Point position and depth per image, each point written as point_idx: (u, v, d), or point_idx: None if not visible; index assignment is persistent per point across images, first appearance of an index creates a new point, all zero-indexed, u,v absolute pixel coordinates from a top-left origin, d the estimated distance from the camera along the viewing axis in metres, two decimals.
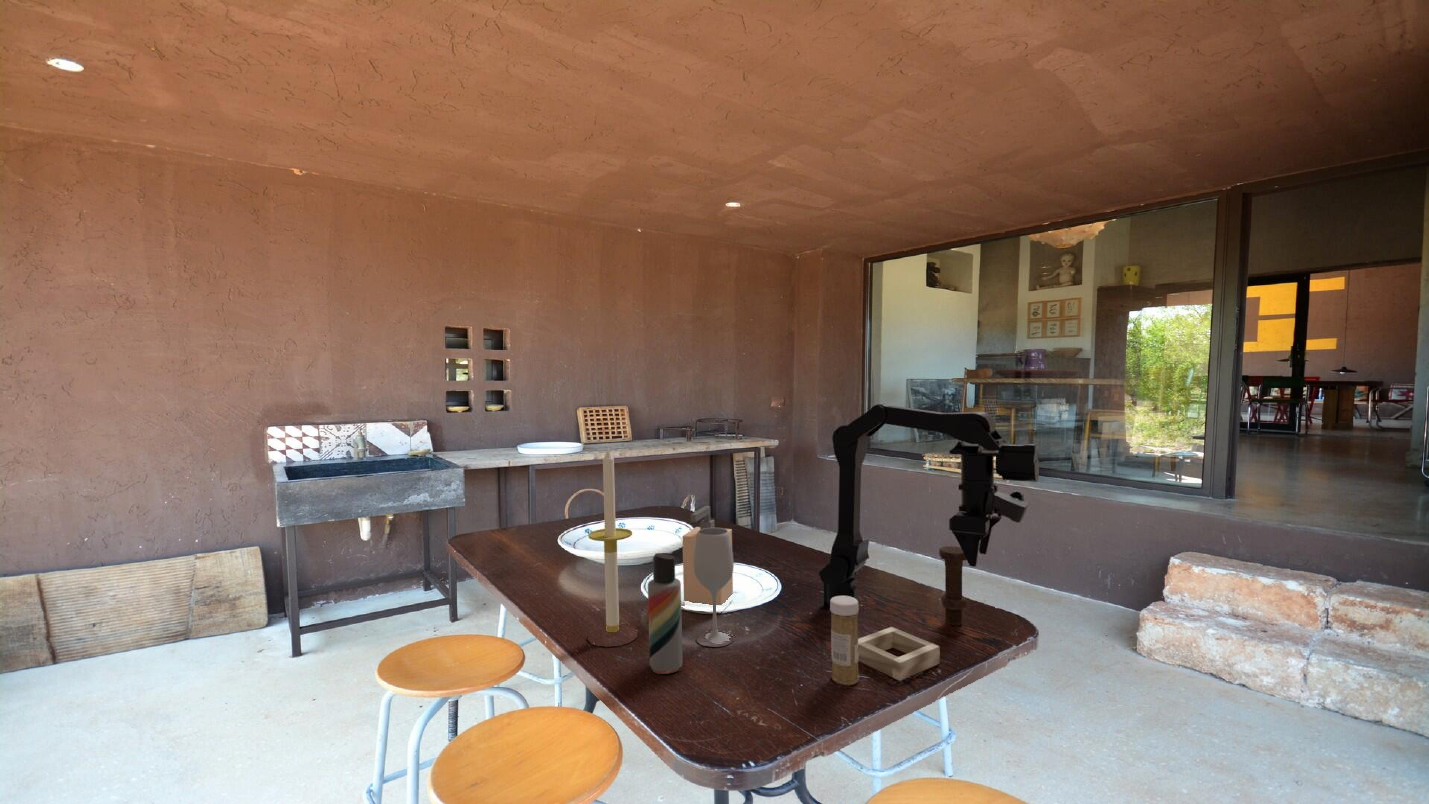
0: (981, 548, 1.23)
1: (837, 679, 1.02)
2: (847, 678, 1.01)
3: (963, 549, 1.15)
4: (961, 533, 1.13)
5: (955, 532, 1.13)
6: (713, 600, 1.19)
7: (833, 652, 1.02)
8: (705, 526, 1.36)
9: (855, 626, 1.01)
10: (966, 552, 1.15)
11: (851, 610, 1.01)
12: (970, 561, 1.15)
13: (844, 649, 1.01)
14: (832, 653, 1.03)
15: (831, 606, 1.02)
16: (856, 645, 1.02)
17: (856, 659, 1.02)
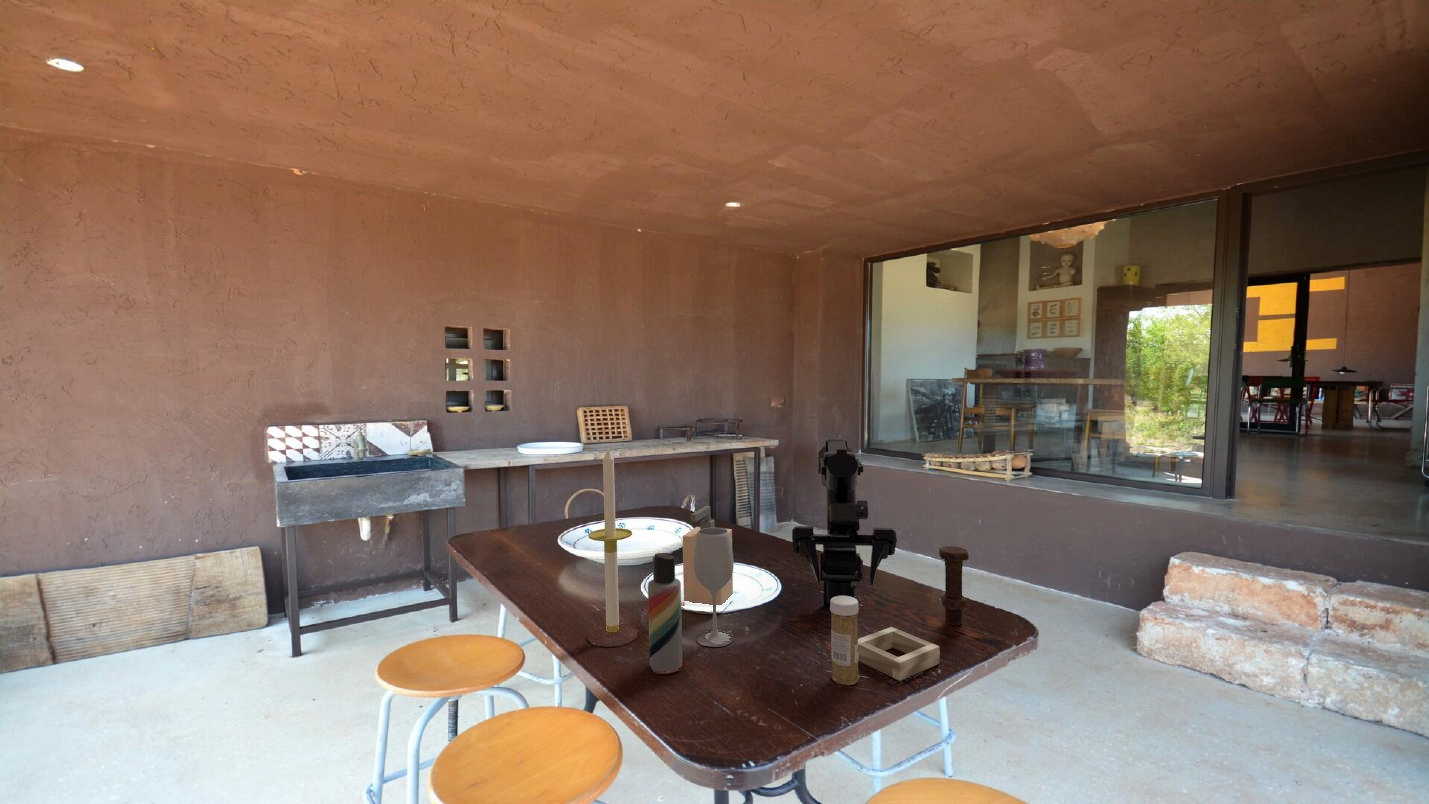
0: None
1: (837, 679, 1.02)
2: (847, 678, 1.01)
3: (812, 569, 1.15)
4: (799, 551, 1.17)
5: None
6: (713, 600, 1.19)
7: (833, 652, 1.02)
8: (705, 526, 1.36)
9: (855, 626, 1.01)
10: (813, 570, 1.14)
11: (851, 610, 1.01)
12: (816, 578, 1.12)
13: (844, 649, 1.01)
14: (832, 653, 1.03)
15: (831, 606, 1.02)
16: (856, 645, 1.02)
17: (856, 659, 1.02)
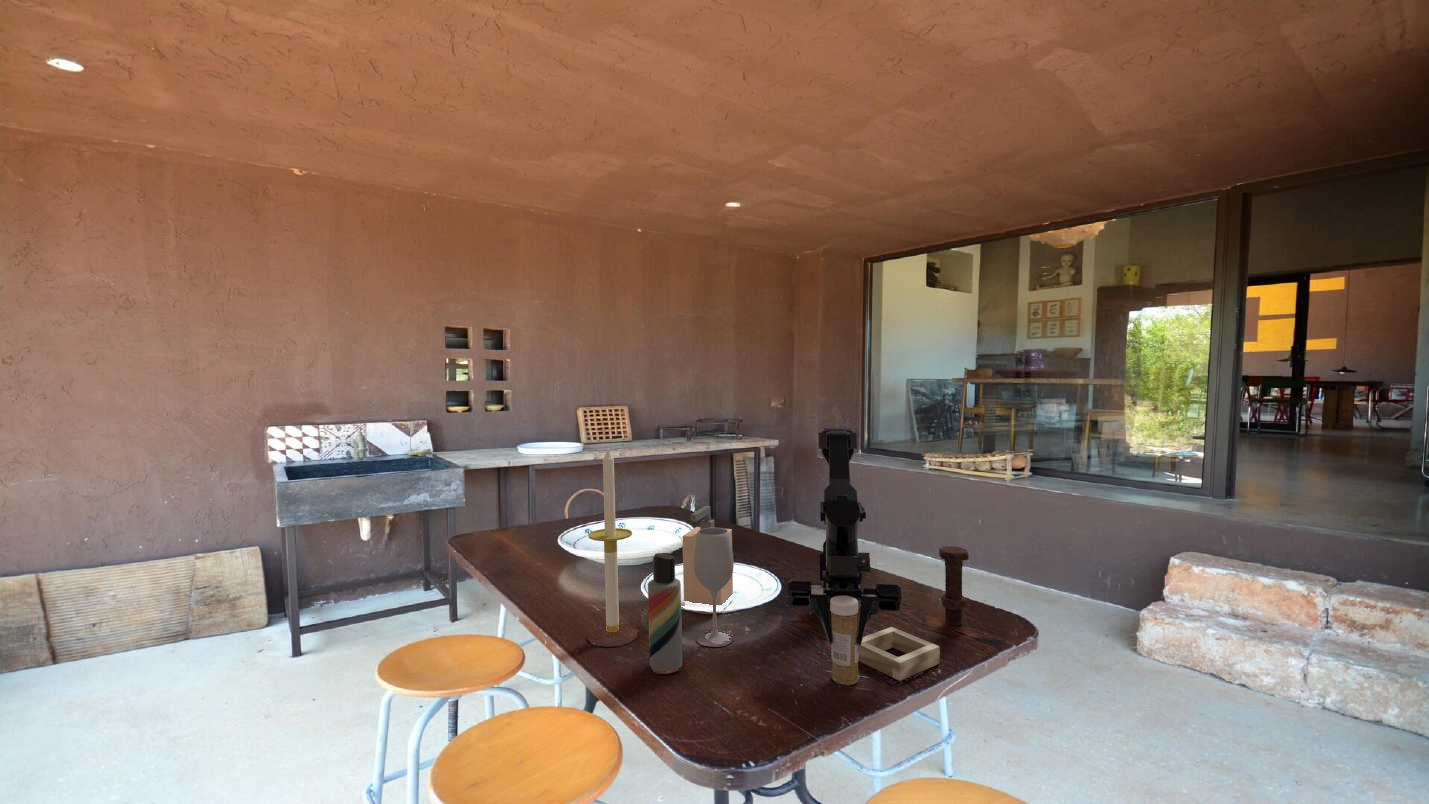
0: None
1: (837, 679, 1.02)
2: (847, 678, 1.01)
3: None
4: None
5: None
6: (713, 600, 1.19)
7: (833, 652, 1.02)
8: (705, 526, 1.36)
9: (855, 626, 1.01)
10: (824, 629, 1.05)
11: (851, 610, 1.01)
12: (827, 637, 1.03)
13: (844, 649, 1.01)
14: (832, 653, 1.03)
15: (831, 606, 1.02)
16: (856, 645, 1.02)
17: (856, 659, 1.02)
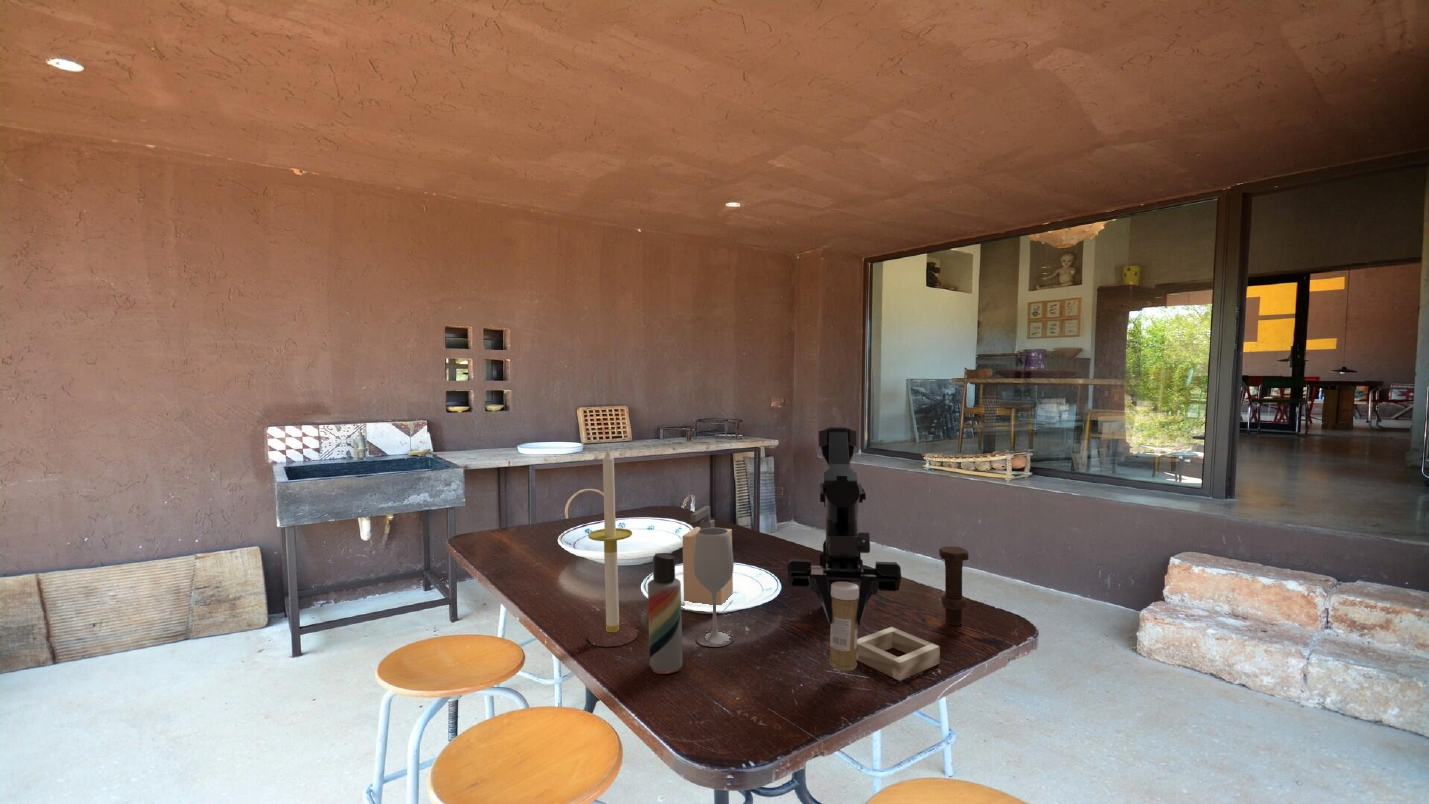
0: (857, 618, 1.02)
1: (836, 665, 1.01)
2: (846, 663, 1.01)
3: (823, 607, 1.05)
4: None
5: None
6: (713, 600, 1.19)
7: (832, 637, 1.02)
8: (705, 526, 1.36)
9: (856, 611, 1.02)
10: (824, 609, 1.05)
11: (853, 594, 1.01)
12: (827, 617, 1.03)
13: (844, 634, 1.01)
14: (831, 638, 1.03)
15: (832, 591, 1.02)
16: (856, 630, 1.02)
17: (855, 645, 1.02)
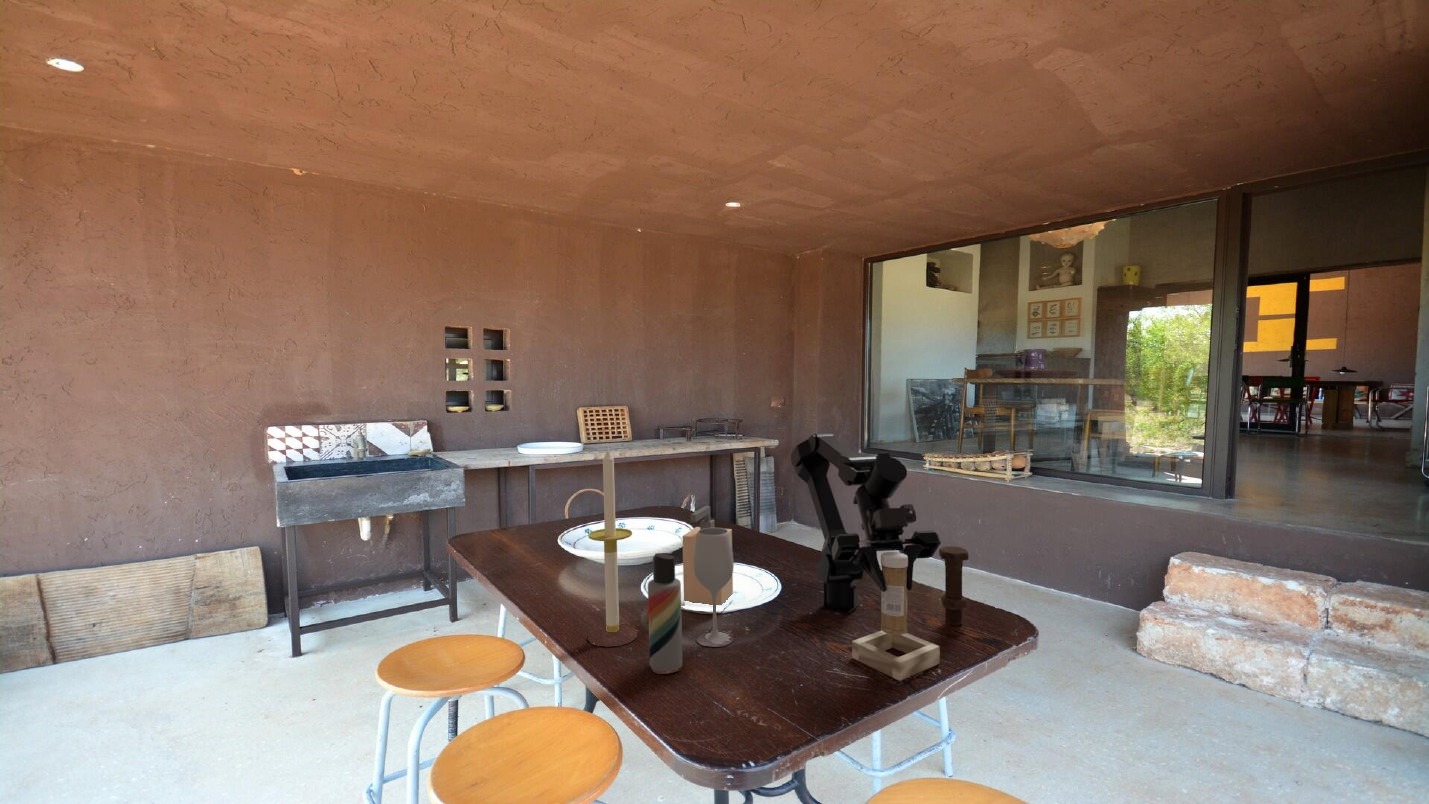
0: None
1: (891, 630, 1.07)
2: (900, 628, 1.07)
3: (872, 577, 1.11)
4: (855, 559, 1.13)
5: (853, 561, 1.14)
6: (713, 600, 1.19)
7: (886, 605, 1.08)
8: (705, 526, 1.36)
9: (906, 578, 1.09)
10: (874, 579, 1.10)
11: (905, 562, 1.08)
12: (880, 586, 1.09)
13: (898, 600, 1.07)
14: (884, 606, 1.08)
15: (885, 561, 1.08)
16: (906, 596, 1.09)
17: (906, 609, 1.08)
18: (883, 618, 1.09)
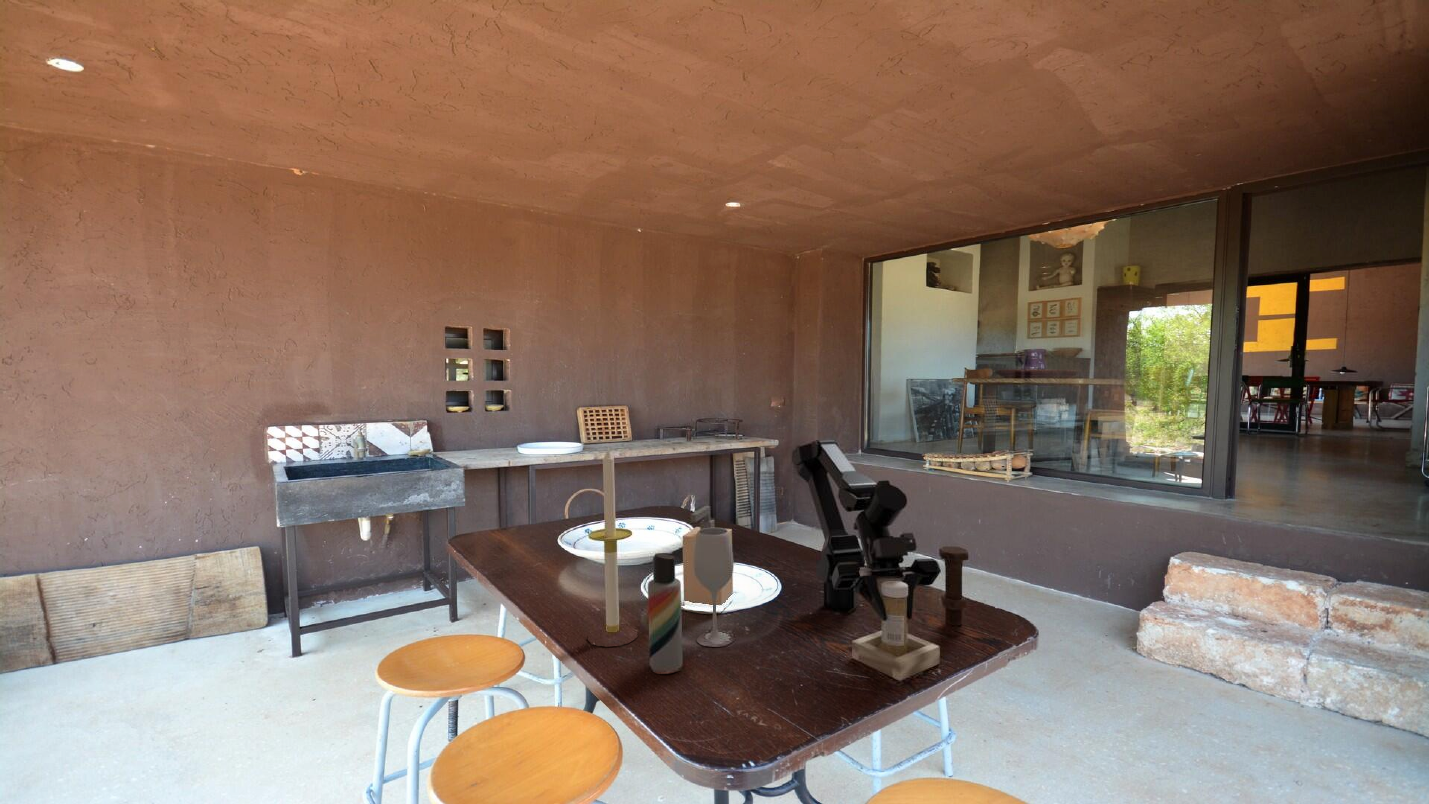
0: None
1: None
2: None
3: (872, 606, 1.11)
4: (855, 587, 1.13)
5: (854, 589, 1.14)
6: (713, 600, 1.19)
7: (887, 634, 1.08)
8: (705, 526, 1.36)
9: (906, 607, 1.09)
10: (874, 607, 1.10)
11: (905, 592, 1.08)
12: (880, 615, 1.09)
13: (899, 629, 1.07)
14: (885, 635, 1.09)
15: (885, 590, 1.09)
16: None
17: None
18: (883, 647, 1.09)
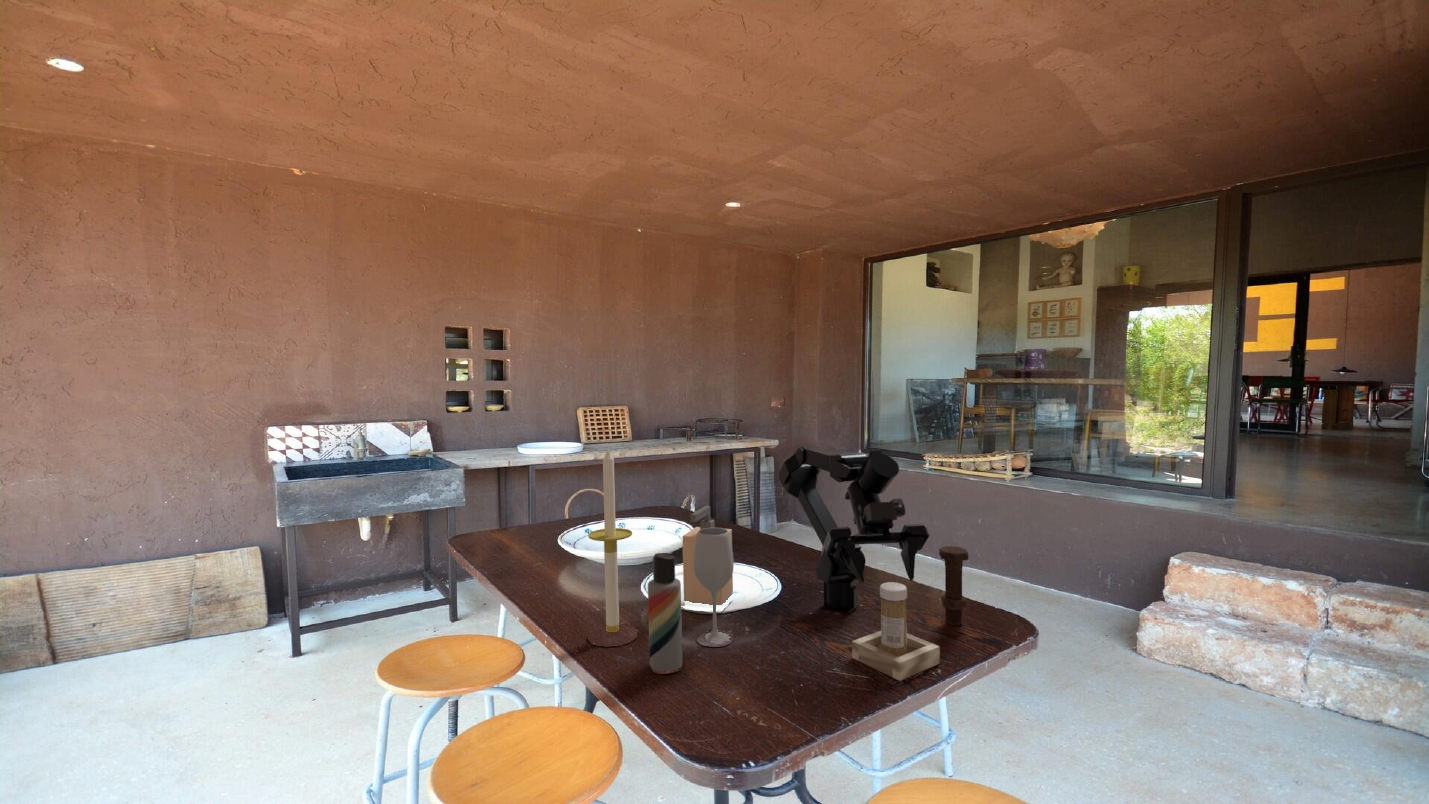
0: (908, 574, 1.14)
1: None
2: None
3: (851, 569, 1.15)
4: (835, 552, 1.17)
5: (833, 554, 1.18)
6: (713, 600, 1.19)
7: (886, 636, 1.08)
8: (705, 526, 1.36)
9: (905, 609, 1.08)
10: (852, 570, 1.15)
11: (904, 594, 1.07)
12: (858, 577, 1.13)
13: (898, 632, 1.07)
14: (884, 638, 1.08)
15: (884, 593, 1.08)
16: (906, 627, 1.08)
17: (906, 640, 1.08)
18: (883, 649, 1.09)
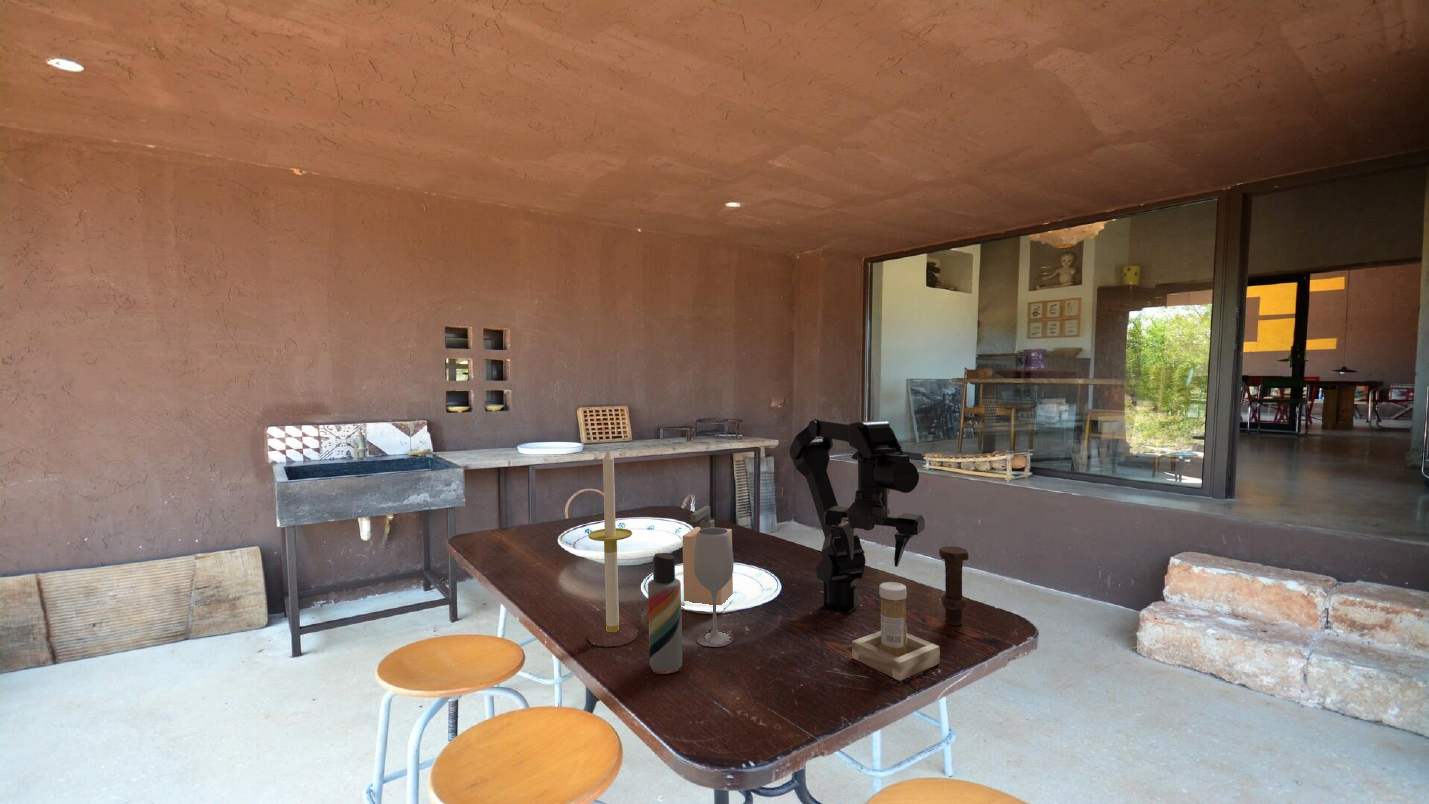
0: None
1: None
2: None
3: None
4: None
5: None
6: (713, 600, 1.19)
7: (886, 636, 1.08)
8: (705, 526, 1.36)
9: (905, 609, 1.08)
10: None
11: (904, 594, 1.07)
12: None
13: (898, 631, 1.07)
14: (884, 637, 1.08)
15: (884, 593, 1.08)
16: (906, 626, 1.09)
17: (906, 640, 1.09)
18: (883, 649, 1.09)
